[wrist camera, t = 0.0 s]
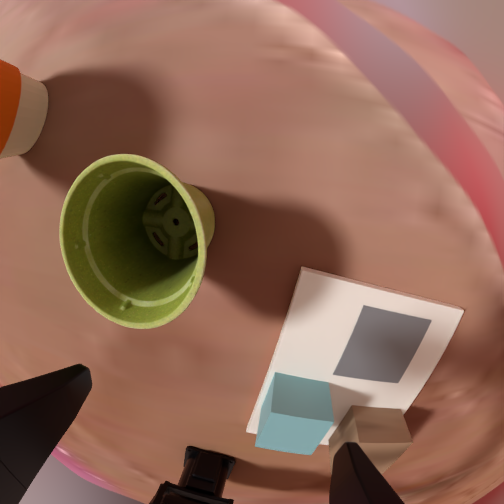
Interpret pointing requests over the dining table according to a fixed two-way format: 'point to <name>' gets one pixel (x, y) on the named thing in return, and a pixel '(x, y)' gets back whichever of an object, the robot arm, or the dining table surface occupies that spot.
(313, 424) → the teal cube
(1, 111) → the reusable coffee cup
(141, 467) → the dining table surface
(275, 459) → the dining table surface
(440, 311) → the board
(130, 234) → the plant pot
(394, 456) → the walnut block
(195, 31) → the dining table surface
